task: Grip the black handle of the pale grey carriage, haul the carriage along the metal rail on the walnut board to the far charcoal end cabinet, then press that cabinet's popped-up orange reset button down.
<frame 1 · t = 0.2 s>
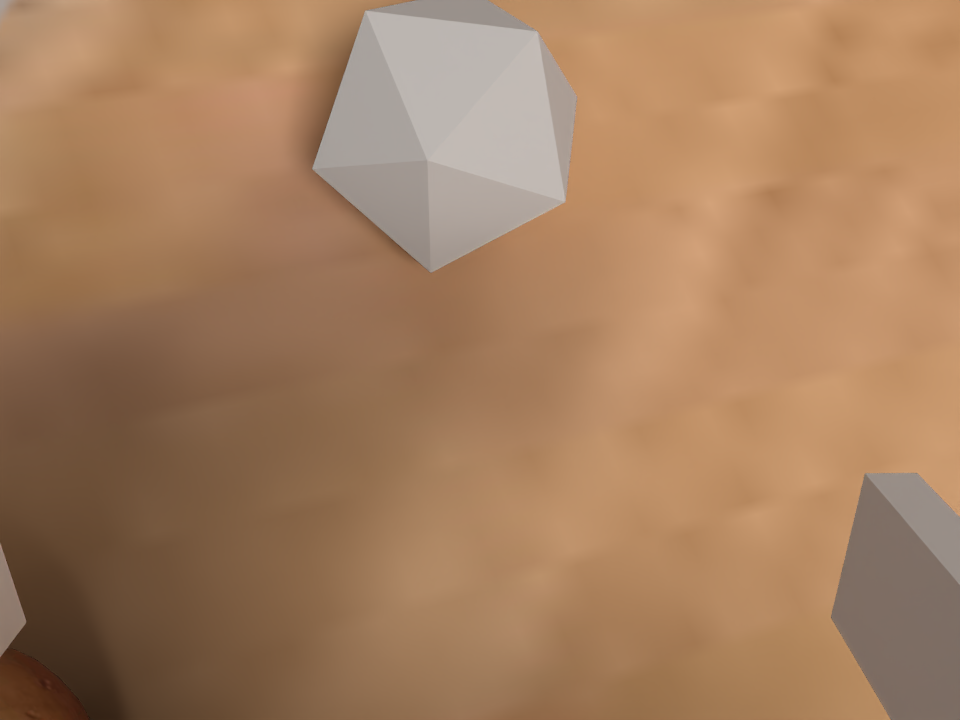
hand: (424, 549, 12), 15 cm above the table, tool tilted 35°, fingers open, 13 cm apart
die: (456, 181, 29), on the table
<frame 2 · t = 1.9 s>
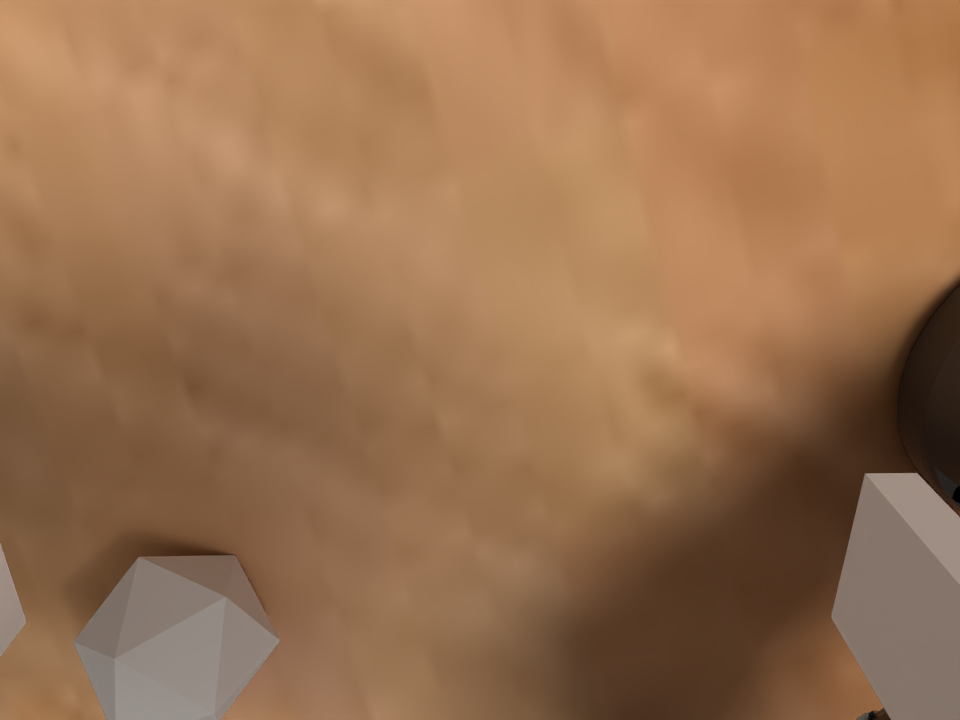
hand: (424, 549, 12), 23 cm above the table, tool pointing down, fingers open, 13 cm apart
die: (207, 585, 41), on the table
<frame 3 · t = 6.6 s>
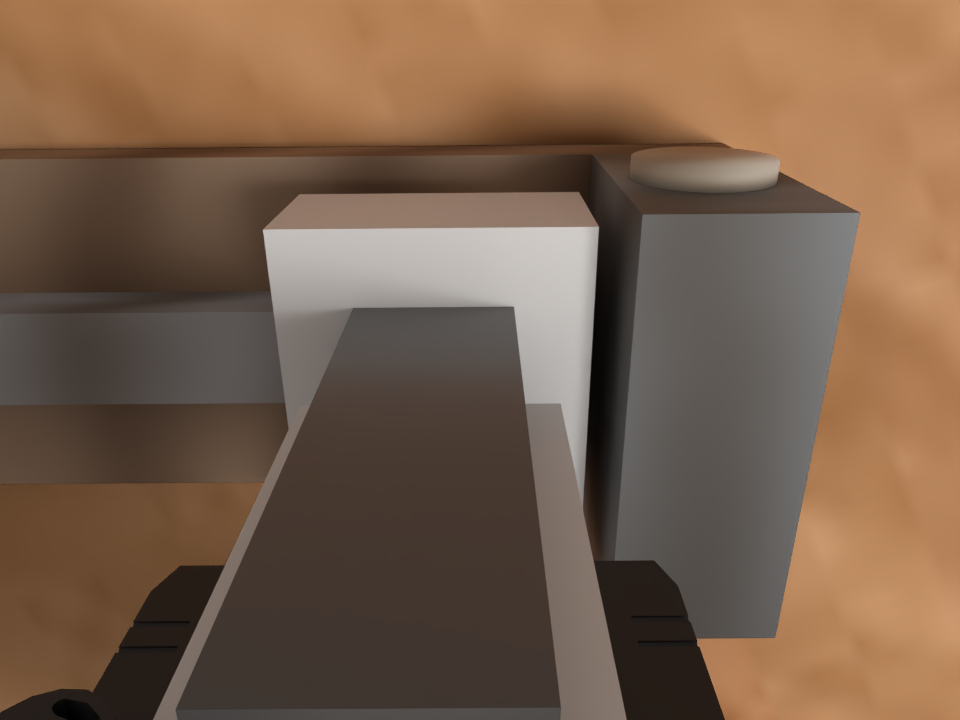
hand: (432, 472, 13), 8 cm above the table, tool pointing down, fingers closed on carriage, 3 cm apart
carriage: (430, 493, 13), point 9 cm above the table, slide at 10.0 cm, touching gripper
rail base: (160, 315, 21), on the table
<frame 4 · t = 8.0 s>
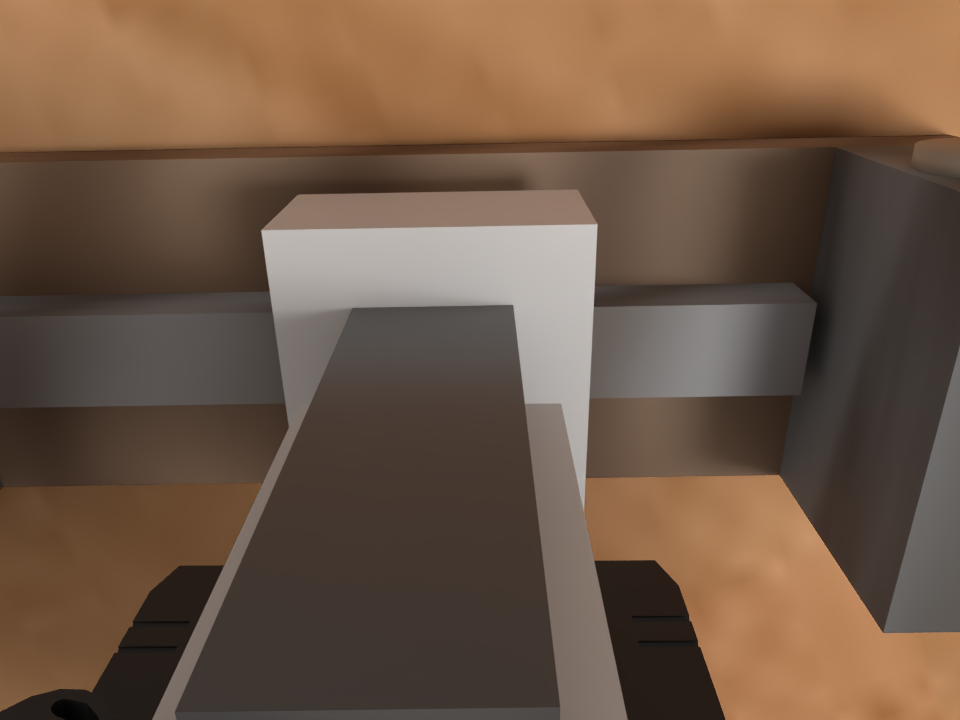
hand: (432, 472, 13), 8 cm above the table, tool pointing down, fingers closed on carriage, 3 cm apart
carriage: (431, 492, 13), point 9 cm above the table, slide at 4.3 cm, touching gripper
rail base: (366, 313, 21), on the table
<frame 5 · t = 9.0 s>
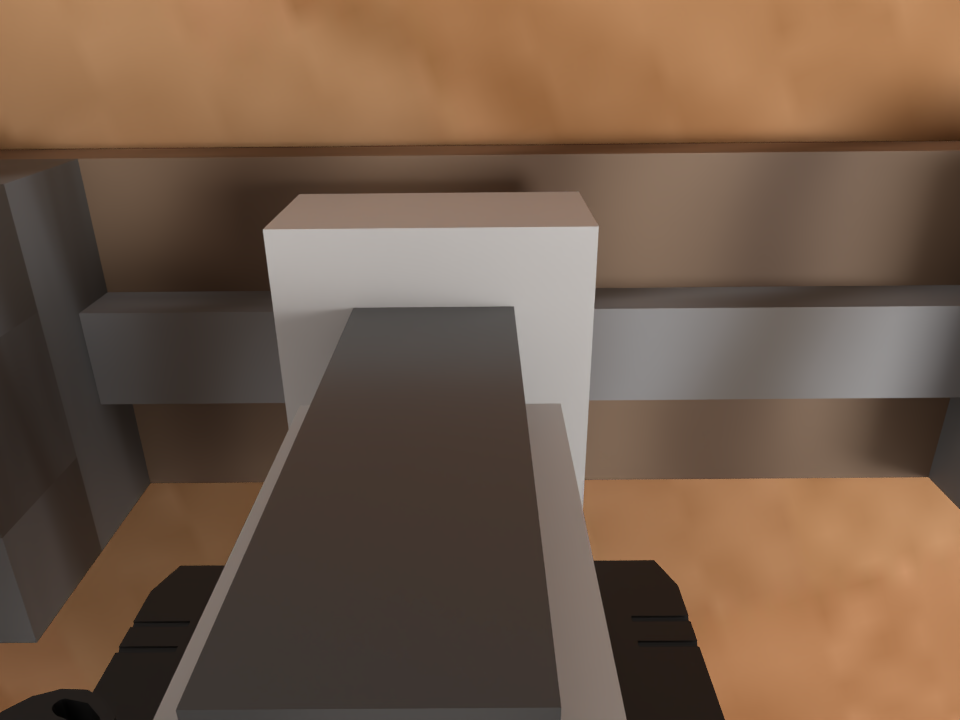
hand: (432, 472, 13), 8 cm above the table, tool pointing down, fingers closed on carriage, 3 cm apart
carriage: (430, 492, 13), point 9 cm above the table, slide at 0.0 cm, touching gripper
rail base: (520, 312, 21), on the table
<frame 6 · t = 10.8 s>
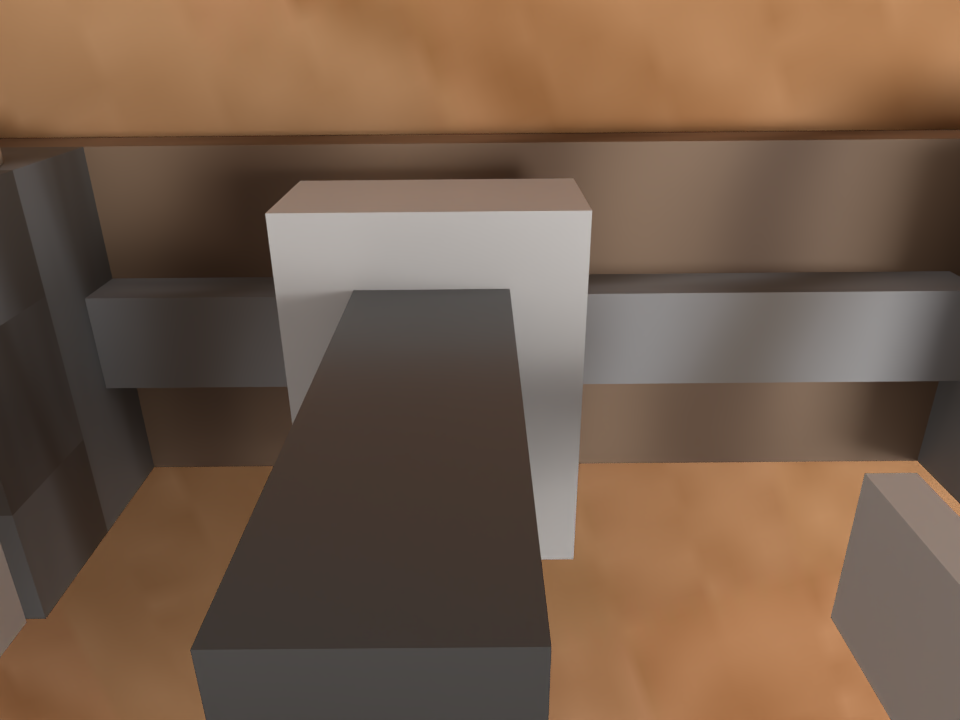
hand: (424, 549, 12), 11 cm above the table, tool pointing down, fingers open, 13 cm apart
carriage: (428, 468, 13), point 9 cm above the table, slide at 0.0 cm
rail base: (517, 298, 21), on the table
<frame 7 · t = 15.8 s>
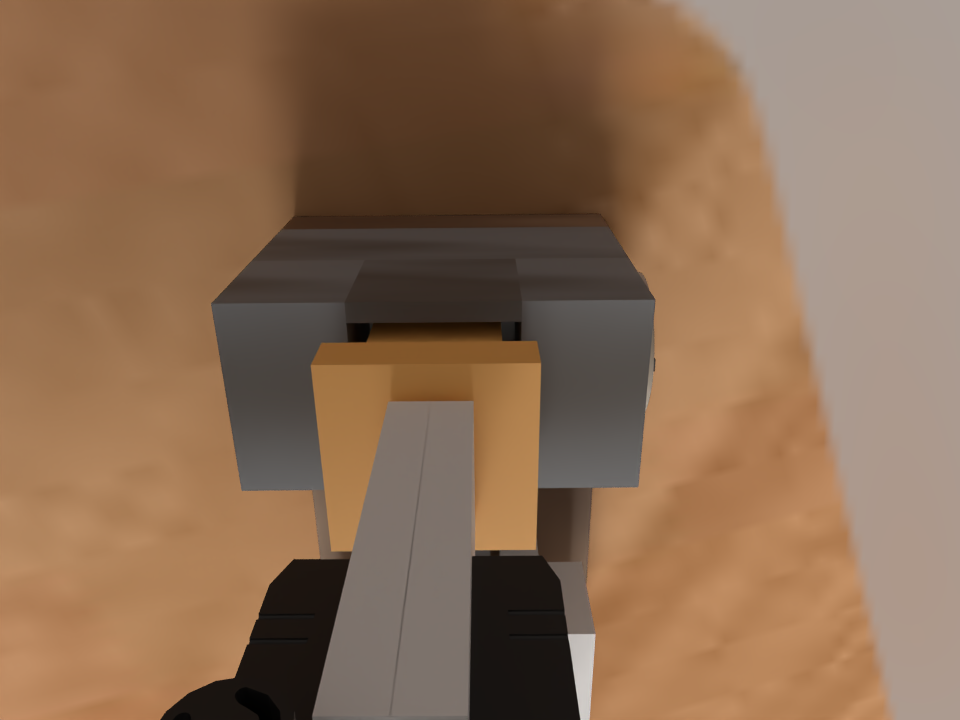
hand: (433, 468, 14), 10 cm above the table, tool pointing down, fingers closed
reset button: (435, 411, 16), point 8 cm above the table, slide at 1.5 cm, touching gripper
rail base: (457, 611, 28), on the table
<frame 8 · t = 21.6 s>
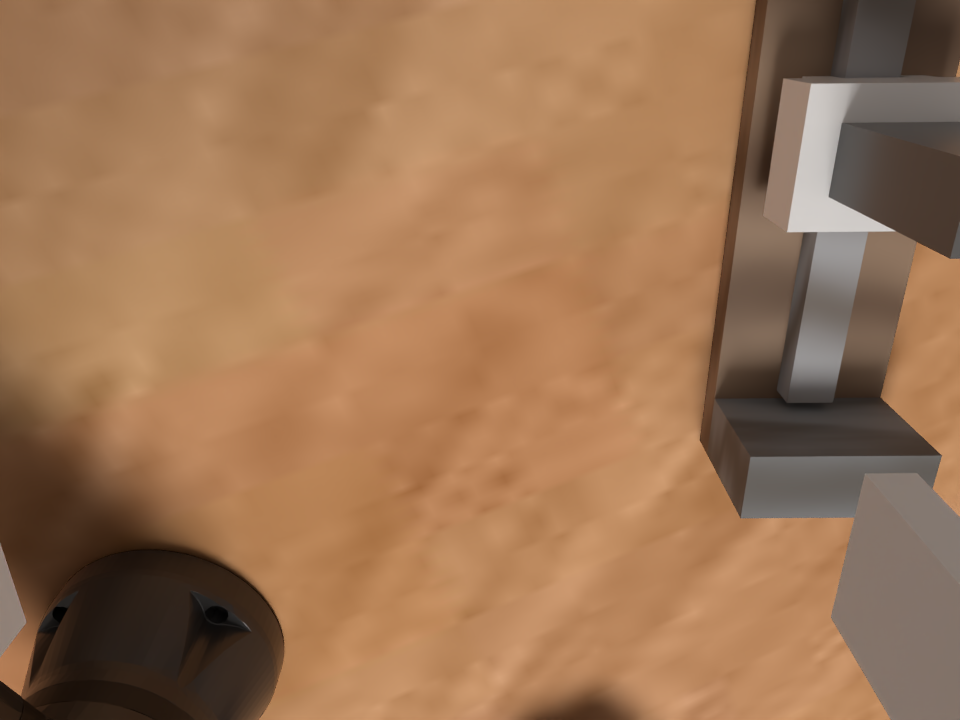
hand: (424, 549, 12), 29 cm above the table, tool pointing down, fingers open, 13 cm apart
carriage: (927, 170, 29), point 9 cm above the table, slide at 0.0 cm
rail base: (823, 179, 38), on the table
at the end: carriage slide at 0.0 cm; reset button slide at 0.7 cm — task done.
